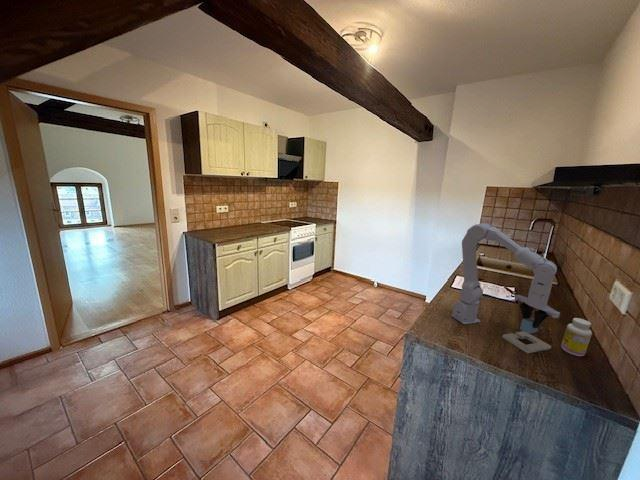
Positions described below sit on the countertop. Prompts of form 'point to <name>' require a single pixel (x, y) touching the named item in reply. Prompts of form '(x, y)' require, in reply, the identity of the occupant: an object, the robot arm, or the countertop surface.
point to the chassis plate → (529, 348)
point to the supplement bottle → (577, 337)
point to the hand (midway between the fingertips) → (530, 324)
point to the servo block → (528, 325)
